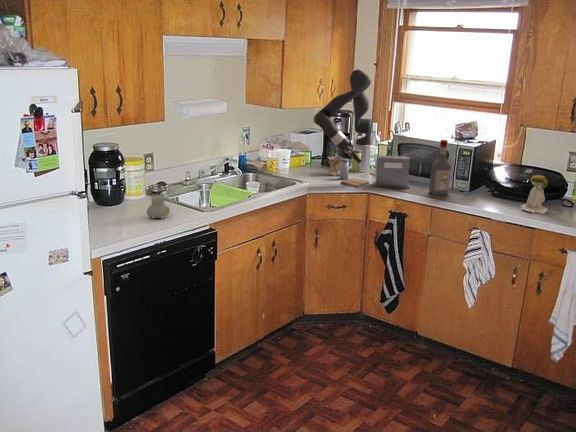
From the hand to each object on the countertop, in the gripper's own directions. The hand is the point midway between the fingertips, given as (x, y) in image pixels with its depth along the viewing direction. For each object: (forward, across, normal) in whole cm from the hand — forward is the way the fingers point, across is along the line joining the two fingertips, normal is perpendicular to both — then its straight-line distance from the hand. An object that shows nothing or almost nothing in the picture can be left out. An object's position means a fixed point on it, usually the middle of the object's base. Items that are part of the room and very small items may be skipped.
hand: (359, 161), depth 347 cm
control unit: (+23, +2, +4) cm, 24 cm away
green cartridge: (+3, 0, -5) cm, 6 cm away
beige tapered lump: (+70, +48, +50) cm, 98 cm away
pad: (+8, -1, -11) cm, 14 cm away
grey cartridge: (+5, -12, -14) cm, 19 cm away
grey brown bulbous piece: (-63, +69, -84) cm, 125 cm away
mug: (+1, -22, -19) cm, 29 cm away
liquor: (+40, +18, +21) cm, 49 cm away
